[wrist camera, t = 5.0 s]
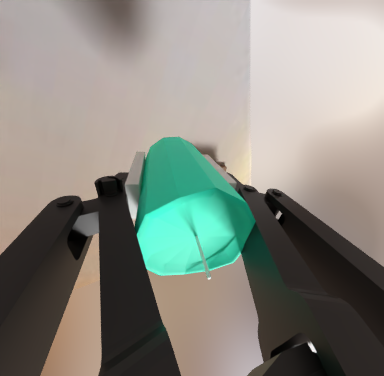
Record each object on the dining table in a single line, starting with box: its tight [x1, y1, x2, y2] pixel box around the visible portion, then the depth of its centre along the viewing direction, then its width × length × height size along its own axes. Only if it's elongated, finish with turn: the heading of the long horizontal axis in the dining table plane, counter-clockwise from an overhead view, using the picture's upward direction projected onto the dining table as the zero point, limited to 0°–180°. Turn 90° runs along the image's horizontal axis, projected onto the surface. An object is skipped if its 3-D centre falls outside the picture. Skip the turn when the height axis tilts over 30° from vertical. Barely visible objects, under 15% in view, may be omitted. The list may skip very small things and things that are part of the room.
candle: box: [134, 137, 256, 279], centre depth 10 cm, size 6×6×12 cm
